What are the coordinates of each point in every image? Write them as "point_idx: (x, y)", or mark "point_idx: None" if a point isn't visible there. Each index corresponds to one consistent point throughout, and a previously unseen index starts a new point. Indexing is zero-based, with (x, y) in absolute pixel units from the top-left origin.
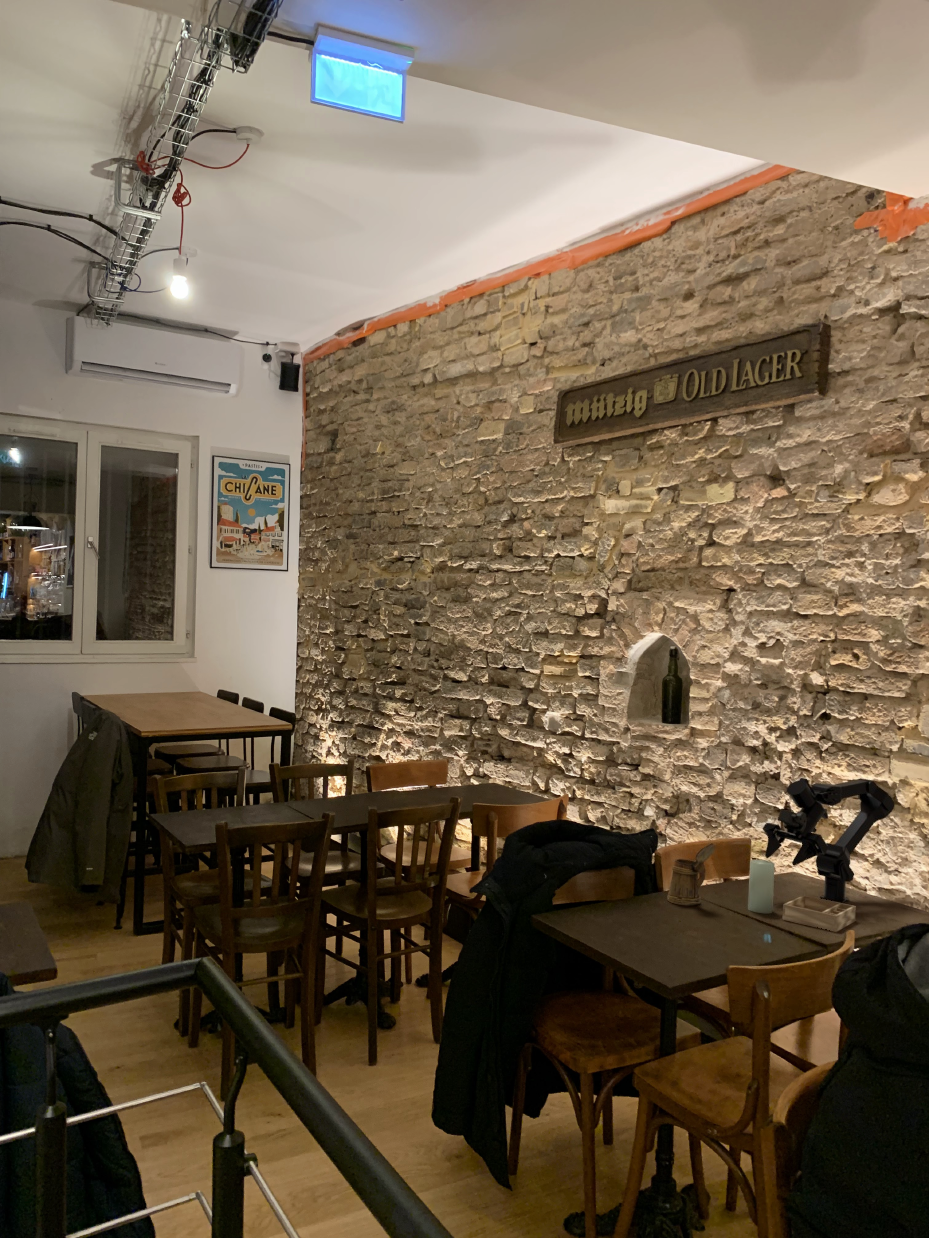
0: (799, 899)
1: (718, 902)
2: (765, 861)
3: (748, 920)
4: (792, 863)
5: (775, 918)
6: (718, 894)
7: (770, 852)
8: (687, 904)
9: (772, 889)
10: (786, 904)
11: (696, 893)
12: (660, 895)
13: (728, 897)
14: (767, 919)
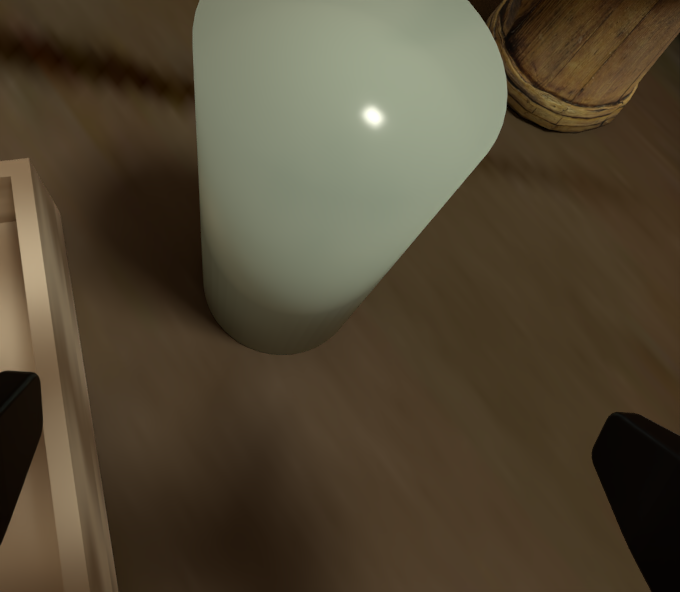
0: (53, 476)
1: (489, 199)
2: (384, 140)
3: (170, 39)
4: (26, 375)
5: (104, 198)
6: (622, 346)
7: (673, 532)
8: (490, 16)
9: (202, 227)
10: (10, 180)
11: (511, 8)
12: (656, 68)
13: (557, 345)
14: (121, 139)
